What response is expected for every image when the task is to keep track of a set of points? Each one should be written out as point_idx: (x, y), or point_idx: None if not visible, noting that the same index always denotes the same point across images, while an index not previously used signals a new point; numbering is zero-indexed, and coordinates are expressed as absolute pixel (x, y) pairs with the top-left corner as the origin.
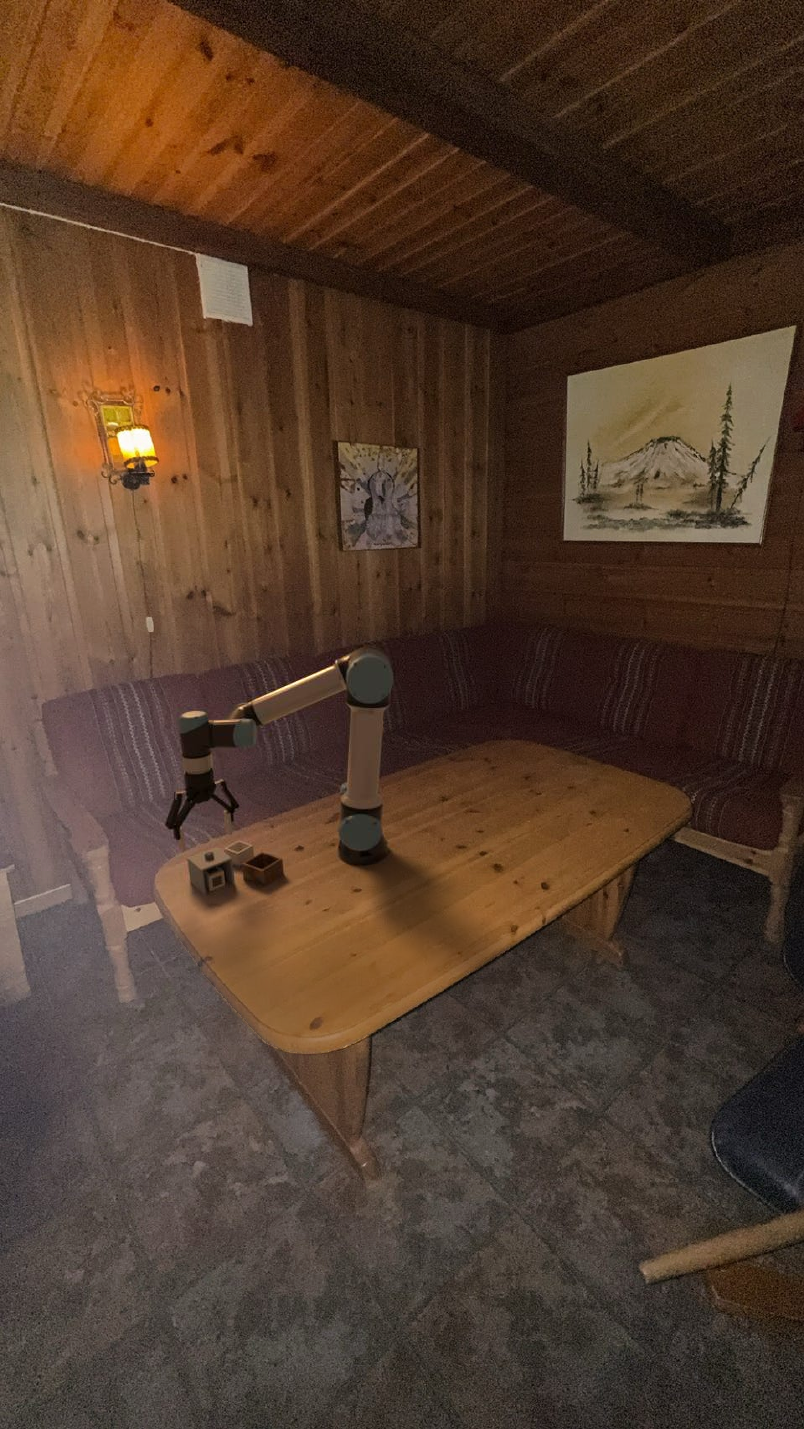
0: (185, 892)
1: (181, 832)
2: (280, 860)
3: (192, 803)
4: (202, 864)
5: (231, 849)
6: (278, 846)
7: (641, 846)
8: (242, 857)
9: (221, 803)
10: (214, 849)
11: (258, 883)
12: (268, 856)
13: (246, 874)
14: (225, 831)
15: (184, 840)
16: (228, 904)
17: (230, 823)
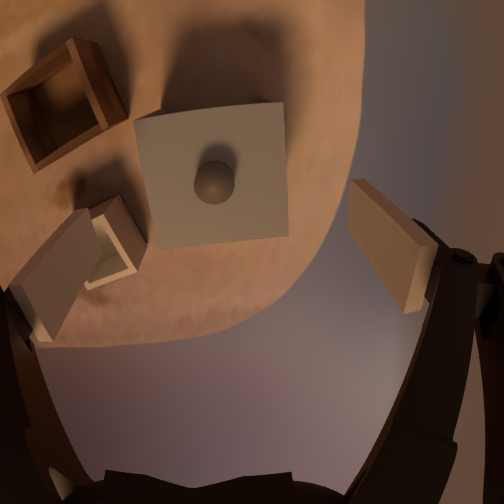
0: (303, 156)
1: (419, 230)
2: (7, 89)
3: (430, 480)
4: (261, 141)
5: (117, 266)
6: (17, 243)
7: None
8: (97, 210)
9: (4, 372)
10: (174, 234)
11: (102, 60)
12: (27, 138)
13: (115, 105)
14: (100, 255)
15: (375, 203)
16: (223, 11)
17: (48, 241)
